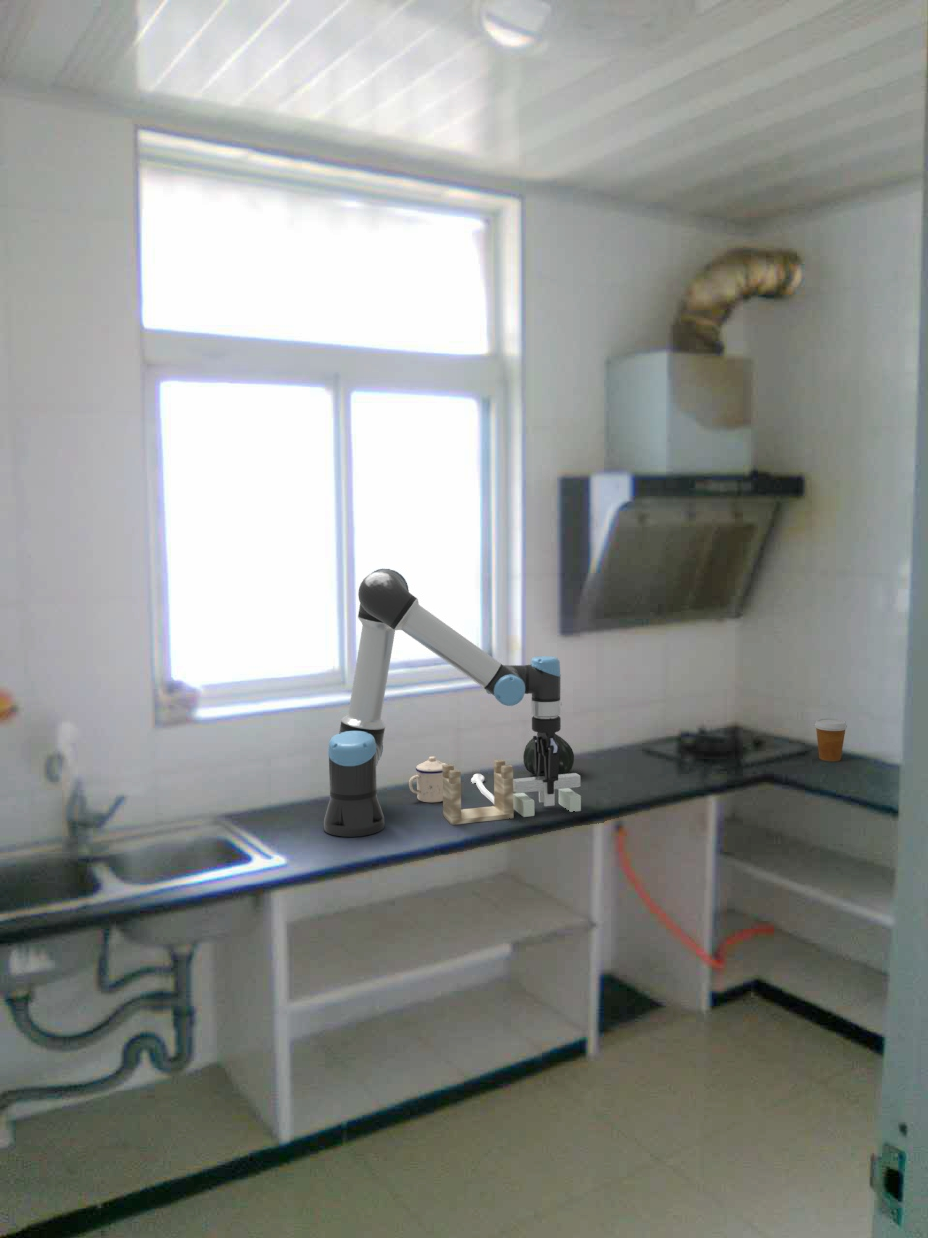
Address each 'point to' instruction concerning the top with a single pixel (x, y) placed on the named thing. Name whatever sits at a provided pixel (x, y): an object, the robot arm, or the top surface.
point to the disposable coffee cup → (830, 738)
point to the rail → (538, 784)
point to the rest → (566, 799)
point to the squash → (564, 756)
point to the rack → (496, 812)
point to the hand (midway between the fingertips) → (546, 803)
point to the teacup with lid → (429, 781)
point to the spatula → (482, 786)
